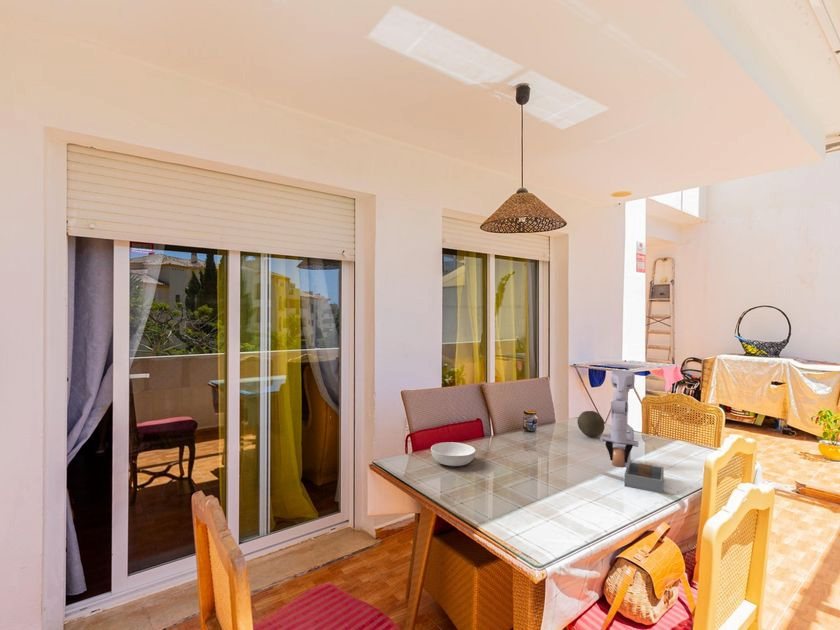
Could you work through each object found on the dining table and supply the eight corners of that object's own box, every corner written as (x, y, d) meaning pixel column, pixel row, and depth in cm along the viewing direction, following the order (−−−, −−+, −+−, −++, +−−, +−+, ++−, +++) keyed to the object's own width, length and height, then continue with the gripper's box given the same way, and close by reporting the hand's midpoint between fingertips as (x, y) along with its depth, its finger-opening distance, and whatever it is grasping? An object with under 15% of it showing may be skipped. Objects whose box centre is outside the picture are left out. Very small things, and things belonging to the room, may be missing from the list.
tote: (628, 472, 191) (628, 461, 191) (663, 479, 184) (663, 467, 184) (624, 486, 176) (624, 473, 176) (662, 493, 169) (662, 480, 169)
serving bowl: (470, 473, 188) (470, 458, 188) (424, 467, 195) (425, 452, 195) (479, 458, 207) (479, 444, 207) (437, 453, 214) (438, 439, 214)
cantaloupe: (585, 432, 256) (586, 407, 256) (608, 438, 245) (609, 411, 245) (572, 436, 247) (573, 410, 247) (596, 442, 236) (596, 415, 236)
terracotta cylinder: (613, 462, 185) (613, 446, 185) (625, 464, 182) (626, 448, 182) (611, 465, 181) (611, 449, 181) (624, 468, 178) (624, 451, 178)
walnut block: (638, 474, 186) (638, 463, 186) (651, 476, 184) (652, 465, 184) (637, 478, 182) (637, 466, 182) (651, 480, 179) (651, 468, 179)
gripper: (599, 428, 182) (598, 460, 182) (637, 433, 174) (637, 467, 174) (601, 424, 188) (601, 455, 188) (639, 429, 180) (638, 462, 180)
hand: (618, 460), depth 181 cm, fingers closed on terracotta cylinder, 5 cm apart
